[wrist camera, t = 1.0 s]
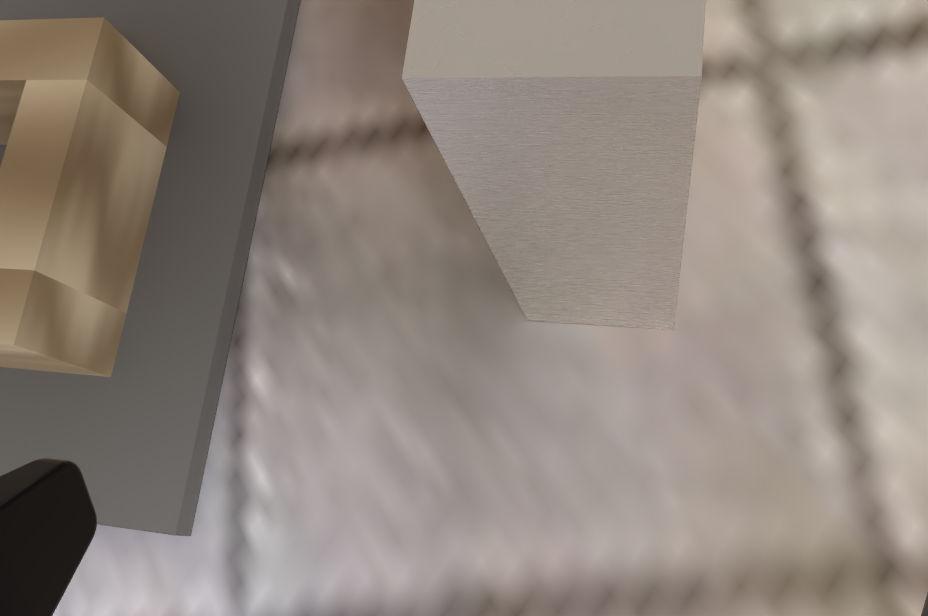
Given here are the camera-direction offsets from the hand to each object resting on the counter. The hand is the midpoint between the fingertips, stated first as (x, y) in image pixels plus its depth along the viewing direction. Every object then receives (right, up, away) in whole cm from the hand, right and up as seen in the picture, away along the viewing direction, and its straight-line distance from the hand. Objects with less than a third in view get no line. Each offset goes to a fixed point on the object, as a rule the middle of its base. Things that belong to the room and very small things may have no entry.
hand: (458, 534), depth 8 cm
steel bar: (+4, +4, +15) cm, 16 cm away
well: (-14, +5, +19) cm, 24 cm away
